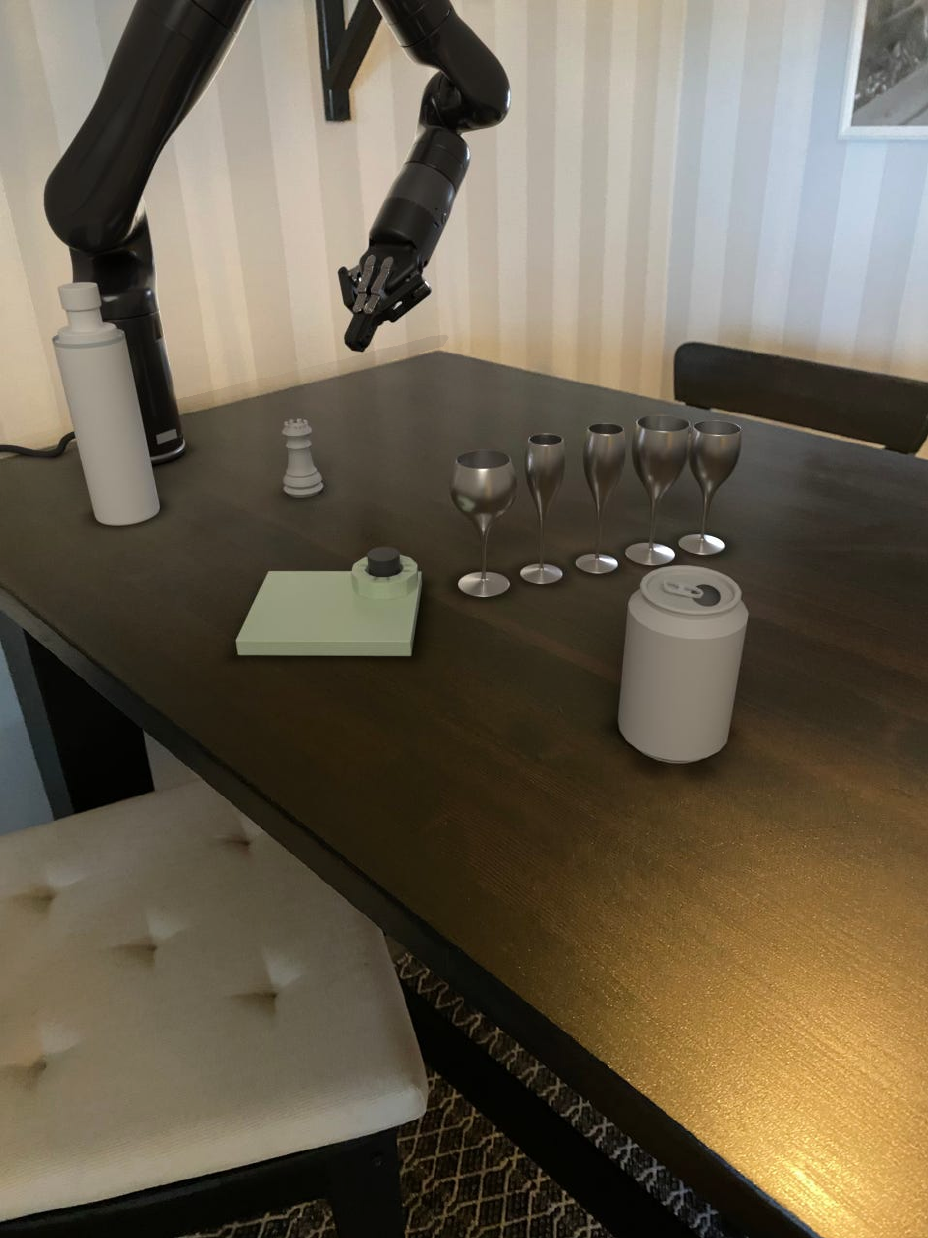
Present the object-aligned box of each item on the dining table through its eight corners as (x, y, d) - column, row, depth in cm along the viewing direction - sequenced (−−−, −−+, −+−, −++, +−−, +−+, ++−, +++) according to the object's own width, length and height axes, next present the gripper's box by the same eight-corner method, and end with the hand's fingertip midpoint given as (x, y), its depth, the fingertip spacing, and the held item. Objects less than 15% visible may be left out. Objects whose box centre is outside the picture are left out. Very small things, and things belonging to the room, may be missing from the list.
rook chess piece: (291, 501, 99) (282, 431, 95) (278, 488, 102) (269, 419, 98) (329, 494, 101) (322, 424, 97) (316, 480, 104) (309, 413, 100)
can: (729, 777, 59) (757, 620, 53) (613, 764, 60) (627, 608, 54) (724, 710, 65) (748, 562, 59) (619, 699, 66) (632, 553, 60)
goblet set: (705, 529, 91) (723, 401, 84) (738, 553, 87) (760, 419, 80) (443, 576, 84) (439, 438, 77) (464, 605, 79) (462, 461, 72)
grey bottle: (166, 499, 100) (119, 260, 87) (151, 524, 94) (99, 273, 82) (105, 501, 100) (49, 262, 87) (87, 527, 94) (24, 274, 81)
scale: (237, 655, 72) (232, 623, 71) (271, 582, 83) (266, 553, 81) (411, 656, 72) (409, 624, 70) (422, 582, 83) (421, 553, 81)
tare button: (366, 579, 78) (365, 561, 77) (370, 564, 80) (369, 546, 79) (399, 579, 78) (398, 561, 77) (402, 564, 80) (401, 546, 79)
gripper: (352, 192, 105) (291, 323, 102) (444, 196, 98) (381, 336, 96) (385, 235, 111) (328, 358, 109) (473, 241, 104) (415, 373, 102)
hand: (353, 347), depth 102 cm, fingers closed
